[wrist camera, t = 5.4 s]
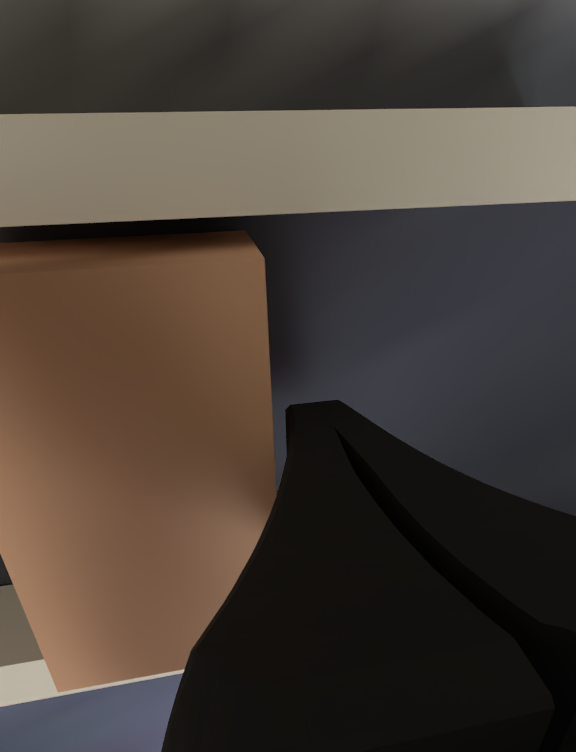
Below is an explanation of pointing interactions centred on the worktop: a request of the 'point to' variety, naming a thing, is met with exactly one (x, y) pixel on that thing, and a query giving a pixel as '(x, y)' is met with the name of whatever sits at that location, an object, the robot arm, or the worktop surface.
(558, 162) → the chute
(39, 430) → the block
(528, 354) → the worktop surface
